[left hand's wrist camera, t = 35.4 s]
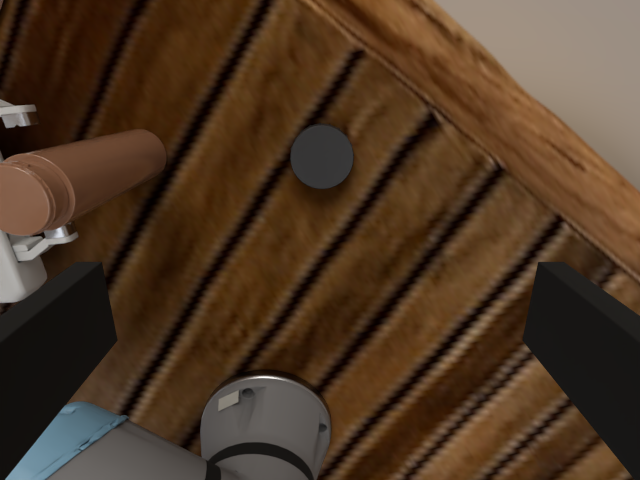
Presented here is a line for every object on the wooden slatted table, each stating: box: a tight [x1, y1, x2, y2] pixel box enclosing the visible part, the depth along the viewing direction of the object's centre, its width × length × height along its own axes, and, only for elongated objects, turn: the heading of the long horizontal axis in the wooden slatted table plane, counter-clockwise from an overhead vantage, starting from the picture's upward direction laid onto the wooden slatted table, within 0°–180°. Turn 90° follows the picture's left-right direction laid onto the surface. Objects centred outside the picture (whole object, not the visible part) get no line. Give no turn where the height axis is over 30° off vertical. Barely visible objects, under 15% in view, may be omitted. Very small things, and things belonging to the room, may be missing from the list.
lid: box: [290, 123, 354, 189], centre depth 37 cm, size 6×6×2 cm
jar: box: [0, 129, 167, 236], centre depth 30 cm, size 5×5×17 cm
